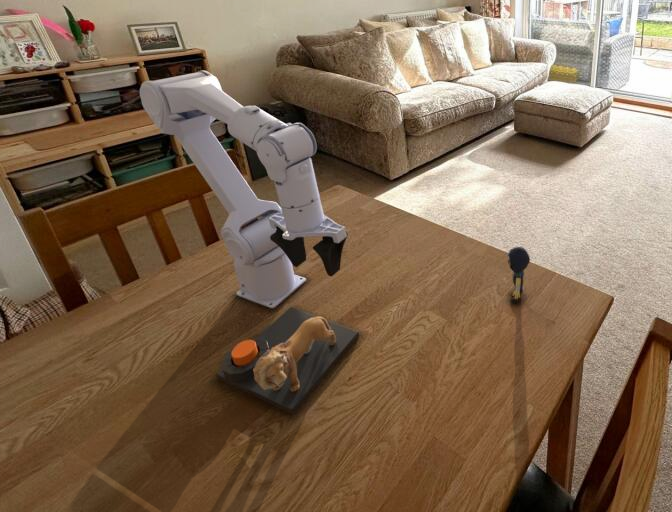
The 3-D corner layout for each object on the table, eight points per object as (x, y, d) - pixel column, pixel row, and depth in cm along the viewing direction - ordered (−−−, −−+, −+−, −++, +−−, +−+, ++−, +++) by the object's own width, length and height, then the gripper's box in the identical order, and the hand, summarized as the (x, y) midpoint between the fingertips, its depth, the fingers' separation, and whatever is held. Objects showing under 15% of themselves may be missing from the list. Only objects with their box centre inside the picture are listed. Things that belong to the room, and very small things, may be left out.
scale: (216, 379, 62) (212, 365, 60) (292, 311, 74) (289, 298, 73) (292, 415, 57) (288, 401, 56) (359, 336, 69) (357, 323, 68)
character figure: (507, 280, 82) (509, 232, 78) (527, 281, 82) (530, 233, 78) (505, 317, 74) (506, 264, 69) (527, 318, 74) (530, 265, 69)
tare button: (228, 362, 61) (226, 354, 61) (247, 345, 64) (245, 337, 64) (244, 369, 60) (241, 360, 60) (262, 351, 63) (260, 343, 63)
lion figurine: (288, 420, 55) (275, 374, 52) (252, 413, 56) (237, 368, 53) (344, 331, 69) (336, 290, 65) (315, 327, 69) (306, 286, 66)
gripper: (244, 204, 64) (265, 274, 69) (315, 219, 59) (333, 293, 64) (282, 184, 70) (299, 249, 75) (349, 196, 65) (362, 264, 70)
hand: (317, 267), depth 70 cm, fingers open, 7 cm apart
